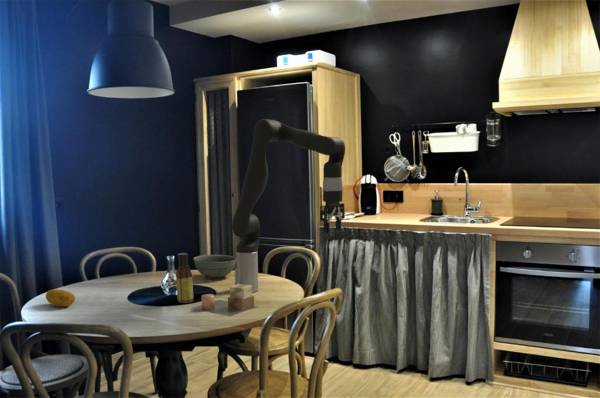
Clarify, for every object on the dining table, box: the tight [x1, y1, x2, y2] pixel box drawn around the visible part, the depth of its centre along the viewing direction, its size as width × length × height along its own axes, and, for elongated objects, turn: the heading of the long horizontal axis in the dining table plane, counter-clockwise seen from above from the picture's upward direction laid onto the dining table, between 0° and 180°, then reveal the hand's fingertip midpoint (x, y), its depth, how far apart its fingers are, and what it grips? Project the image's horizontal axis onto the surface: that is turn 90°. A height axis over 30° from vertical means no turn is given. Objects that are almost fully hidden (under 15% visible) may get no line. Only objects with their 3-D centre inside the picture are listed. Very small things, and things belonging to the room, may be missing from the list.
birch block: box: [229, 284, 253, 299], centre depth 217 cm, size 6×6×4 cm
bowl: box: [193, 254, 236, 281], centre depth 277 cm, size 21×21×10 cm
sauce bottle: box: [175, 252, 194, 304], centre depth 227 cm, size 6×6×20 cm
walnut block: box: [227, 295, 255, 310], centre depth 218 cm, size 7×7×4 cm
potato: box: [45, 289, 76, 308], centre depth 225 cm, size 8×14×7 cm, turn 53°
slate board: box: [190, 299, 259, 317], centre depth 217 cm, size 20×16×1 cm
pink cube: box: [201, 293, 216, 310], centre depth 216 cm, size 5×5×5 cm
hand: (332, 231), depth 221 cm, fingers open, 8 cm apart
